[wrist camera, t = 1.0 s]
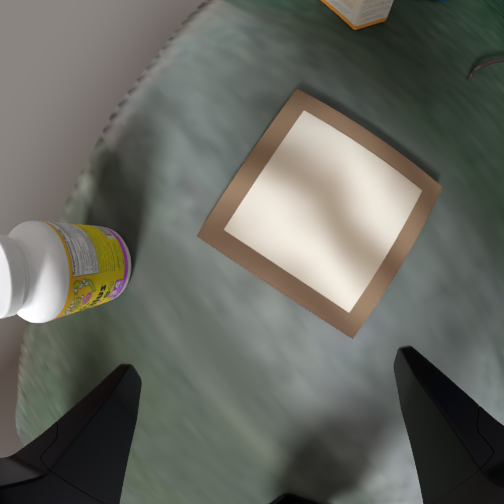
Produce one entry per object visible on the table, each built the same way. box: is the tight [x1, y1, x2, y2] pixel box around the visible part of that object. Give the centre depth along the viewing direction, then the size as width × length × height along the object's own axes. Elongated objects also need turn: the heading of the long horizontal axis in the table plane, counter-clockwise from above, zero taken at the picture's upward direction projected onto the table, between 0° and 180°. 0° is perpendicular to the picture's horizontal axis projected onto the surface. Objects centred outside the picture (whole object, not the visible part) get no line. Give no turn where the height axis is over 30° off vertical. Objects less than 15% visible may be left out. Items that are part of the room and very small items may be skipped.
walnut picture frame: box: [197, 89, 442, 339], centre depth 21 cm, size 14×14×1 cm
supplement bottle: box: [0, 221, 131, 323], centre depth 18 cm, size 7×7×13 cm
